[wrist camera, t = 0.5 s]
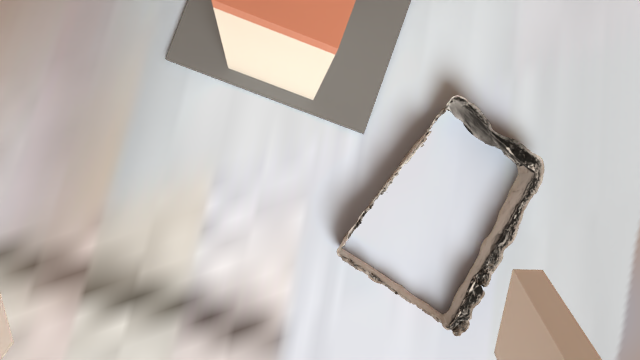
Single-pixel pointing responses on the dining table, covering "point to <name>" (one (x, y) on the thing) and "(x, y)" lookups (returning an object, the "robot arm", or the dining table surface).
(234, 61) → the off-white block
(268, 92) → the charcoal mat
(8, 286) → the dining table surface
